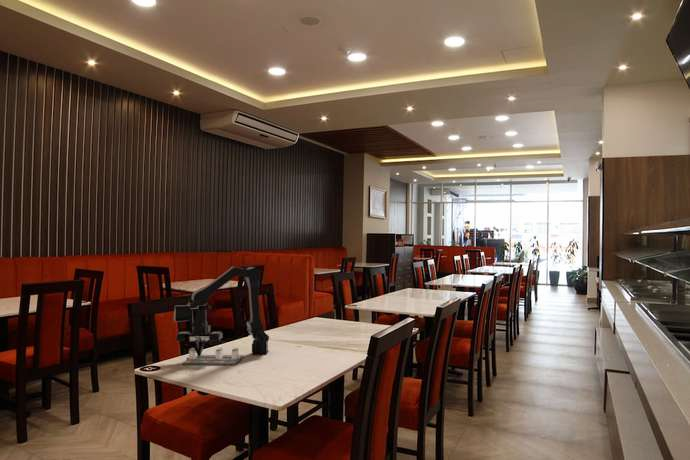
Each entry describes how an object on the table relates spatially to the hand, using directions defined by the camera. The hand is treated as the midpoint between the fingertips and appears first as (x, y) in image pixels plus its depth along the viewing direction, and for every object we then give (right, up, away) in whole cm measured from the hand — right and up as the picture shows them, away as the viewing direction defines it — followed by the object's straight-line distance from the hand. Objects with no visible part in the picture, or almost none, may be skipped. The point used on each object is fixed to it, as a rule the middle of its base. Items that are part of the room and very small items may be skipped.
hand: (199, 355), depth 198 cm
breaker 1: (-3, -2, 0) cm, 4 cm away
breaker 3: (+16, -2, -1) cm, 16 cm away
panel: (+6, -2, 0) cm, 7 cm away
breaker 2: (+9, -2, 0) cm, 9 cm away
